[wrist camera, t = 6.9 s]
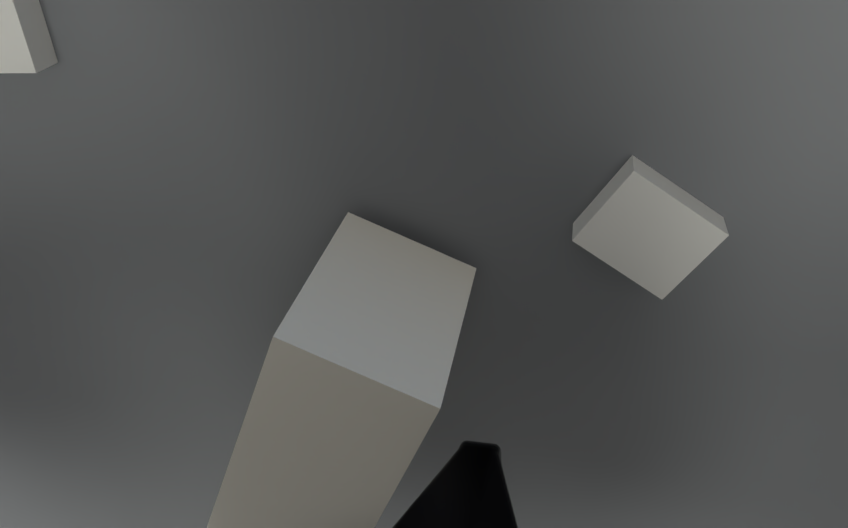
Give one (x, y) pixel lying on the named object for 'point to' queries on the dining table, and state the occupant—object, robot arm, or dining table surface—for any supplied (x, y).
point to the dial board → (433, 243)
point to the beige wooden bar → (347, 385)
